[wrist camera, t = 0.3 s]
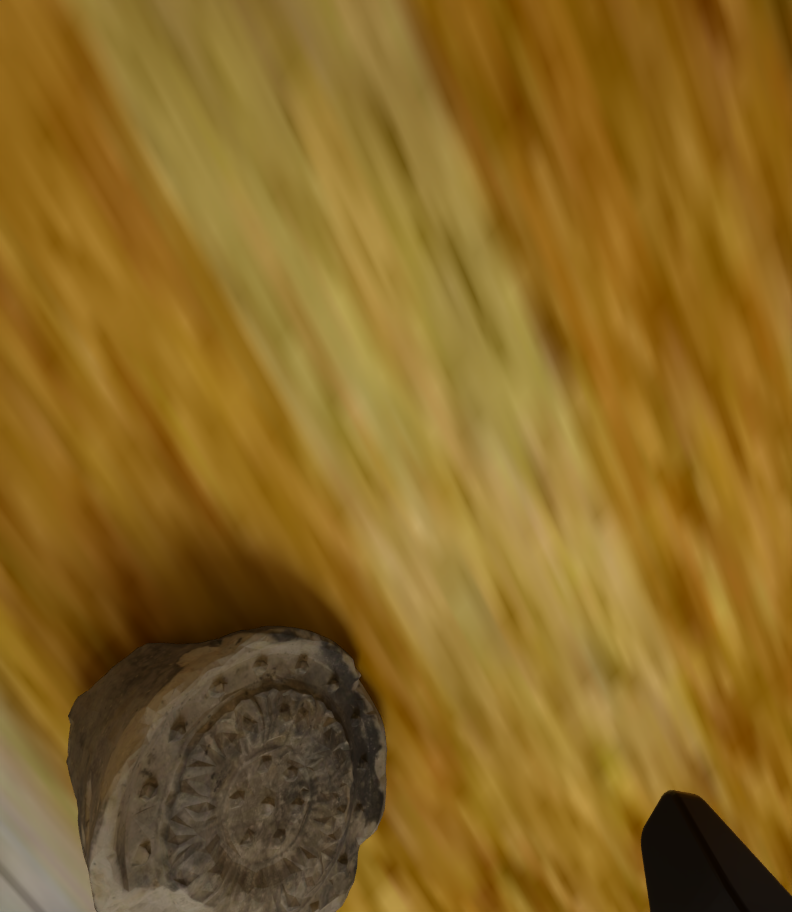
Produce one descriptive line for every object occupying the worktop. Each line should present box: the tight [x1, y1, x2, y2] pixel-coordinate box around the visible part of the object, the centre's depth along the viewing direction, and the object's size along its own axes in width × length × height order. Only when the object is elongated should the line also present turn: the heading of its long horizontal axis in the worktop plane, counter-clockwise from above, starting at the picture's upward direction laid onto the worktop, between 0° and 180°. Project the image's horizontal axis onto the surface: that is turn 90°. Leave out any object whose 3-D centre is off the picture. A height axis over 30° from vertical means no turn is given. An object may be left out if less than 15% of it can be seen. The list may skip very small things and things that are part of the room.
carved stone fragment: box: [66, 626, 387, 912], centre depth 23 cm, size 11×9×10 cm
